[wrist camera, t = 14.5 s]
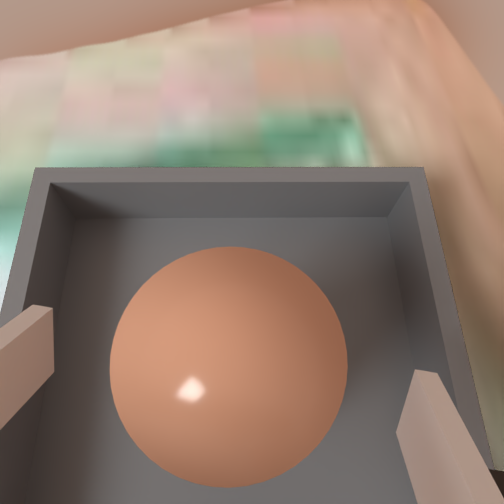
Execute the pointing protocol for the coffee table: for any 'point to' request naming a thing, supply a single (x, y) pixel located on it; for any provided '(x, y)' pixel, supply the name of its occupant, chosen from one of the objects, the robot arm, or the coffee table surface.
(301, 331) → the orange rounded cylinder
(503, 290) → the coffee table surface
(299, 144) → the coffee table surface
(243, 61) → the coffee table surface
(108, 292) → the bin
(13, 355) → the robot arm
